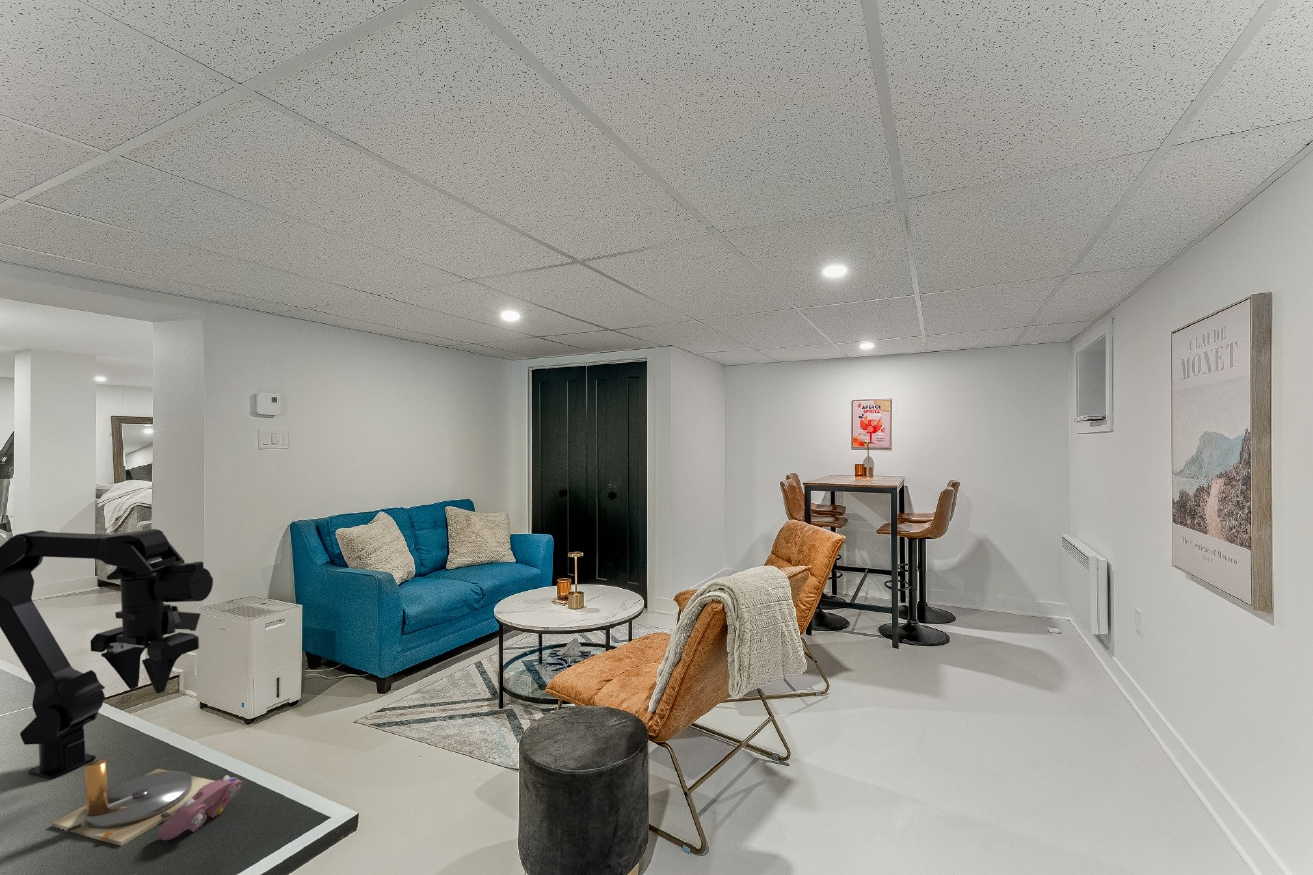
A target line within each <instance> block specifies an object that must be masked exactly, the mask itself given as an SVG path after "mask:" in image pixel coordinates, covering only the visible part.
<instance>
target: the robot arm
mask: <svg viewBox="0 0 1313 875" xmlns="http://www.w3.org/2000/svg"><path fill="white" fill-rule="evenodd" d="M44 558H65V559H66V558H67V559H69V558H70V559H71V558H72V559H88V560H89V559H92V560H98V561H101V562H102V563H104V564H105V565H108V566H113V567H116V568H115V569H114V570H113V571H112V572H110V573H109V574H108V575H107V576H106V580H108V581H114V580H115V581H116V580H117V581H119V582H120V583H119V584H120V599H121V600H120V601H121V602H120V603H121V604H120V605H121V610H118V611H115V614H114V615H115V619H119V620H121V626H119V627H116V628H113V629H109V630H105V631H101V632H98V633H95V635H94V636H93V637H92V638H91V640H90V652H93V653H94V652H95V653H101V657H102V658H104V659H105V660H106V661H107V662H108V664H109V665H110V666H111V667H112V668H113V670H114V671H115V672H116V673H117V674H118V676H119V677H120V679H122V681H123V682H124V683H125V685H126V686H127V687H128V689H129V690H135V689H136V688H138V687H139V682H140V671H141V662H142V664H143V666H144V669H145V672H146V673H147V677H148V678H149V680H150V683H151V685H152V687H153V690H154V691H155V694H157V695H158V694H161V693H164V692H165V690H166V687H167V685H168V682H169V679H170V677H171V674H172V670H173V668H174V665H175V663H176V662H177V661H178V659H179V658H180V657H181V656H183V655H185V654H188V653H190V652H193V651H196V650H198V649H200V637H199V636H198V635H196V634H194V633H189V632H181V631H180V632H176V630H189V631H191V632H192V631H193V632H194V631H195V632H197V627H198V624H199V622H200V617H201V613H199V612H193V611H192V612H189V611H179V609H178V606H177V605H171V604H169V603H183V602H184V603H187V602H202V601H204V600H206V599H207V598H208V597H209V595H210V594H211V592H212V590H213V586H214V578H213V576H212V575H211V572H210V571H209V570H208V569H207V568H204V562H203V561H193V562H185V559H184V558H183V557H182V556H181V555H180V553H179V552H178V551H177V550H176V549H175V547H174V546H173V545H172V544H171V543H170V542H169V540H168V537H167V536H166V535H165V534H164V531H162V530H160V529H156V528H149V529H143V530H135V531H128V532H121V533H116V534H115V533H114V534H104V533H102V534H99V533H98V534H97V533H83V532H82V533H78V532H75V533H74V532H54V531H53V532H51V531H47V530H41V529H40V530H36V531H29V532H24V533H17V534H15V535H13V536H12V537H10V538H9V539H7V541H5V542H4V543H3V544H2V545H1V546H0V629H1V631H2V633H3V634H4V635H3V636H5V639H7V641H8V643H9V645H10V646H11V648H12V650H13V652H14V653H15V655H16V657H17V658H18V659H19V661H20V663H21V665H22V666H23V667H24V670H25V671H26V673H27V675H28V676H29V678H30V679H31V681H32V683H33V684H34V687H35V688H34V694H33V698H32V704H31V705H32V709H33V712H34V714H35V717H34V718H33V719H32V720H31V721H30V723H28V725H26V726H25V727H24V728H23V729H22V731H20V732H19V736H20V739H21V741H22V742H23V745H24V746H28V745H38V759H39V765H37V766H35V767H33V768H30V769H28V774H29V775H34V776H39V777H43V778H46V779H55V778H57V777H59V776H61V775H64V774H65V773H67V772H70V771H72V770H74V769H76V768H79V767H80V766H84V765H87V764H89V763H91V762H93V761H95V760H96V759H97V758H96V757H97V755H94V754H90V753H86V740H85V729H84V727H85V726H86V725H87V724H89V723H91V722H93V721H95V720H97V716H98V714H99V711H100V709H101V708H102V706H103V704H104V701H105V700H106V698H105V693H104V691H103V690H104V689H105V688H106V687H105V686H104V685H103V684H102V683H101V682H100V681H99V678H98V676H97V673H96V672H95V671H93V670H92V669H90V670H88V671H86V672H82V671H79V670H77V669H75V668H74V667H73V666H72V665H71V663H70V662H69V659H68V658H67V657H66V654H65V653H64V652H63V650H62V648H61V646H60V644H59V643H58V641H57V640H56V638H55V637H54V634H53V633H52V632H51V630H50V628H49V626H48V624H47V623H46V622H45V620H44V618H43V616H42V615H41V613H40V611H39V609H38V607H37V606H36V604H35V603H34V601H33V599H32V596H33V591H34V587H35V580H34V577H33V574H32V572H34V570H36V569H37V568H38V567H39V566H40V565H41V564H42V562H43V559H44ZM167 603H168V604H167ZM145 650H146V653H147V656H148V657H146V658H144V659H142V660H141V657H142V655H143V653H144V651H145Z"/></svg>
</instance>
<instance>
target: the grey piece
mask: <svg viewBox="0 0 1313 875" xmlns="http://www.w3.org/2000/svg"><path fill="white" fill-rule="evenodd" d="M107 769H108V767H107V759H98V760H93V761H90V762H88V763H86V764H85V766H84V784H85V788H84V789H85V806H86V809H85V812H84V819H85V823H86V824H87V825H88V826H90V827H94V828H113V827H119V826H124V825H128V824H132V823H135V822H138V821H141V820H144V819H147V818H150V817H152V816H154V815H157V814H159V813H161V812H163V811H165V810H167V809H169V808H170V807H172V806H174V805H175V804H177V803H178V802H179V801H181V800H182V799H183V798H184V797H185V796H186V795H187V794H188V793H189V792H190V790H191V788H192V777H191V776H192V775H191V774H189V773H188V772H185V771H180V770H167V771H165V772H158V773H153V774H149V775H147V774H145V775H141V776H139V777H136V778H133V779H130V780H128V781H125V782H122V783H120V784H118V785H116V786H113V787H111V788H109V787H108V770H107ZM108 788H109V789H108Z"/></svg>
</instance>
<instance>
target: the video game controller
mask: <svg viewBox="0 0 1313 875" xmlns="http://www.w3.org/2000/svg"><path fill="white" fill-rule="evenodd" d="M214 781H215V782H211V783H209V784H207V785H205V786H203V787H202V788H201V789H200V790H199V791H198V792H197V793H196V794H195V795H194V796H193V797H192V798H191V799H189V800H187V801H186V802H185V803H184V804H183V805H182V806H181V807H180V808H179V809H178V810H177V811H176V812H175V814H174V815H173V816H171V817H170V818H168V819H166V820H165V821H164V822H163V823H162V825H160V827H159V828H158V837H159V839H160V840H161V841H171V840H173V839H175V838H176V837H178V836H180V835H181V834H182V833H184V832H185V831H187V830H189V831H190V832H192V833H193V832H196V831H198V830H199V829H200V828H201V827H203V825H204V823H206V821H207V818H208V816H209V817H211V818H212V819H215V818H216V817H217V815H218V814H219V815H220V814H221V813H222V812H223V811H224V810H225V808H226V807H227V805H228V804H229V803H231V801H232V800H233V799H234V798H235V796H237V794H238V793H239V792H240V790H241V788H242V786H243V783H244V782H243V781H242V780H240V779H238V778H237V777H235V776H233V777H232V776H229V774H226V775H224V777H223V778H222V779H219V780H214ZM219 815H218V816H219ZM215 816H216V817H215ZM199 827H200V828H199ZM198 828H199V829H198ZM195 830H196V831H195Z"/></svg>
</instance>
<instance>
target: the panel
mask: <svg viewBox="0 0 1313 875" xmlns="http://www.w3.org/2000/svg"><path fill="white" fill-rule="evenodd" d="M165 771H168V770H166V769H163V768H157V769H154V770H153V771H150V772H148V773H146V775H149V774H153V773H158V772H165ZM191 777H192V788H191V790H190V792H189V793H188V794H187V795H186V796H185V797H184V798H183V799H182V800H181V801H179V802H178V803H177V804H175V805H174V806H172V807H170V808H169V809H167V810H165V811H163V812H161V813H159V814H157V815H154V816H152V817H150V818H147V819H144V820H141V821H138V822H135V823H132V824H128V825H124V826H119V827H113V828H94V827H90V826H88V825H87V824H86V823H85V819H84V812H85V809H86V805H85V806H81V807H80V808H77V809H76V810H74V811H72V812H71V813H68V814H67V815H64V816H63V817H60V818H58V819H57V820H55V821H53V822H51V826H52V825H53V826H55V827H58V828H60V830H62V829H64V830H63V831H65V832H67V833H69V832H70V833H72V834H73V833H74V834H77V835H81V836H84V837H88V838H91V839H95V840H98V841H102V842H105V843H109V844H113V845H116V846H120V847H122V846H124V845H125V844H127V843H129V842H131V841H132V840H134V839H136V838H138V837H140V836H141V835H143V834H145V832H148V831H149V830H151V829H153V828H154V827H156V826H158V825H159V824H161V823H162V822H163V823H164V822H165V821H167V820H168V819H170V818H171V817H172V816H173V815H174V814H175V812H176V811H177V810H178V809H179V808H180V807H181V806H182V805H183V804H184V803H185V802H186V801H187V800H189V799H191V798H192V797H193V796H194V795H195V794H196V793H197V792H198V791H199V790H200V789H201V788H202V787H203V786H205V785H207V784H209V783H211V782H215V781H216V780H212V779H209V778H203V777H199V776H194V775H191ZM55 827H54V828H55ZM58 828H57V829H58Z"/></svg>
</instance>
